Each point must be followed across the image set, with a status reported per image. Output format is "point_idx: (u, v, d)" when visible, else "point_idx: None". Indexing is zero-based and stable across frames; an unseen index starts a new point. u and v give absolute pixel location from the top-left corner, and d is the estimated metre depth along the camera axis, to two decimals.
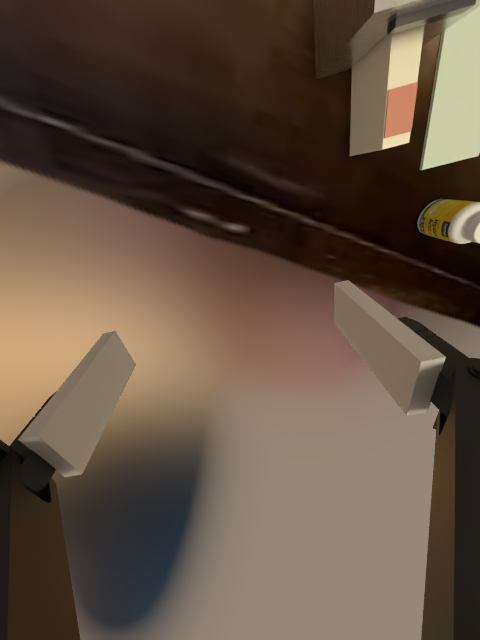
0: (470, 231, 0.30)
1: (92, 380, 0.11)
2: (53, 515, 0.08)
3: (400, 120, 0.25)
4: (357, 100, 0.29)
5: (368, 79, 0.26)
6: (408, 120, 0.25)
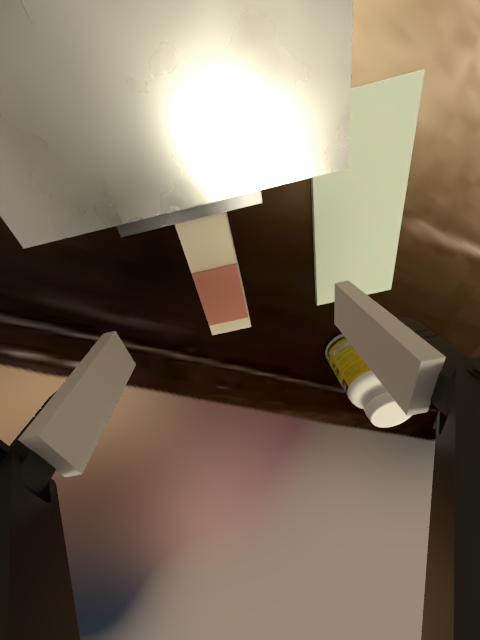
0: (367, 413, 0.22)
1: (92, 380, 0.11)
2: (53, 515, 0.08)
3: (227, 304, 0.16)
4: None
5: None
6: (238, 306, 0.16)
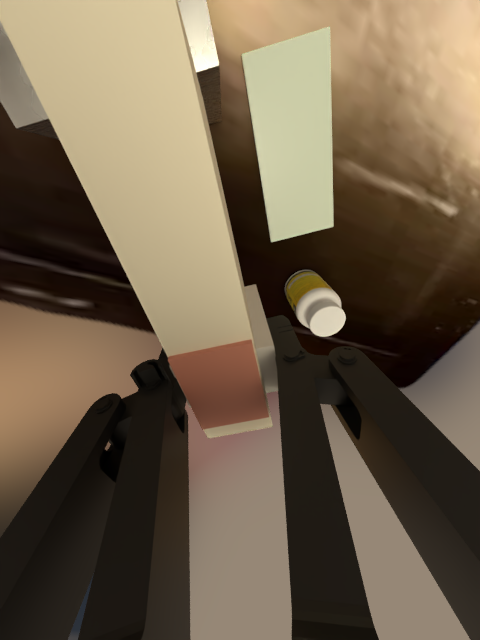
0: (308, 323, 0.26)
1: None
2: (184, 445, 0.09)
3: (232, 399, 0.09)
4: None
5: None
6: (253, 404, 0.09)
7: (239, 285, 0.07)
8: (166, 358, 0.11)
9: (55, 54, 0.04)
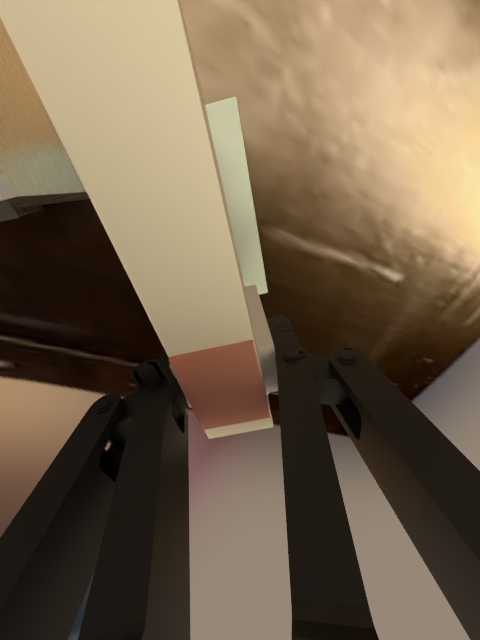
0: None
1: None
2: (184, 445, 0.09)
3: (233, 399, 0.09)
4: None
5: None
6: (254, 404, 0.09)
7: (240, 285, 0.07)
8: (166, 358, 0.11)
9: (57, 54, 0.04)
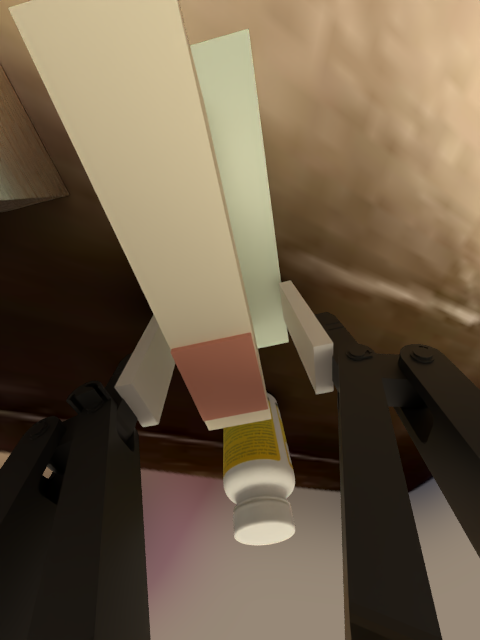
0: None
1: (157, 347, 0.12)
2: (135, 464, 0.08)
3: (232, 391, 0.10)
4: None
5: None
6: (252, 396, 0.09)
7: (239, 279, 0.07)
8: (119, 375, 0.11)
9: (70, 64, 0.05)
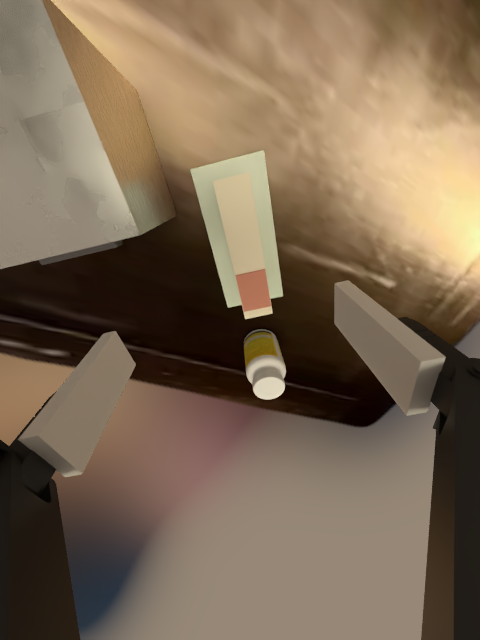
0: None
1: (92, 380, 0.11)
2: (53, 515, 0.08)
3: (256, 297, 0.23)
4: None
5: None
6: (265, 298, 0.23)
7: (261, 248, 0.21)
8: None
9: (223, 191, 0.19)
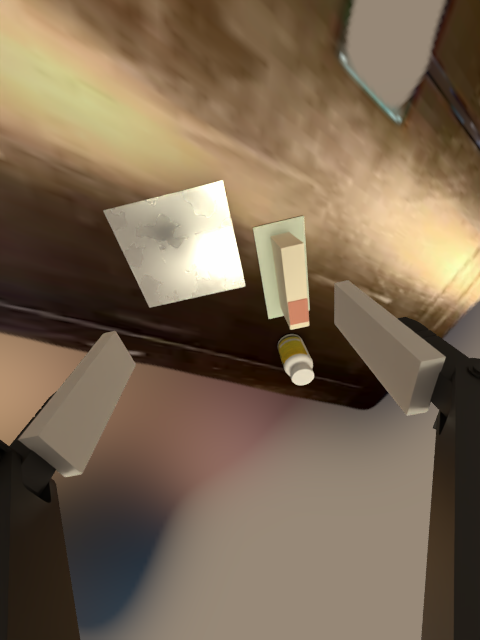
0: (291, 377, 0.41)
1: (92, 380, 0.11)
2: (53, 515, 0.08)
3: (299, 315, 0.35)
4: (278, 282, 0.39)
5: (280, 280, 0.36)
6: (305, 316, 0.35)
7: (306, 285, 0.33)
8: None
9: (286, 253, 0.30)
